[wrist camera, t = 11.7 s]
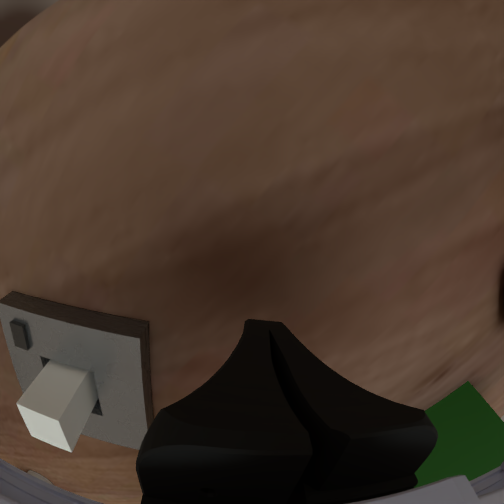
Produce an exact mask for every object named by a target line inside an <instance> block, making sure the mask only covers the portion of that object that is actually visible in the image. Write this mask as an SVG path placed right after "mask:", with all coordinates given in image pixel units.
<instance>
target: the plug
mask: <svg viewBox="0 0 504 504" xmlns="http://www.w3.org/2000/svg"><path fill="white" fill-rule="evenodd" d="M98 398H99V397H98V392H97V388H96V383H95V378H94V372H92V371H88V370H85V369H81V368H78V367H74V366H71V365H67V364H64V363H61V362H57V361H54V360H51V359H50V361H49V362H48V363H47V364H46V365H45V367H44V368H43V369H42V370H41V372H40V373H39V374H38V376H37V377H36V378H35V379H34V381H33V382H32V383H31V385H30V386H29V387H28V388H27V390H26V391H25V392H24V394H23V395H22V396H21V398H20V399H19V400H18V402H17V403H16V404H17V406H18V408H19V410H20V413H21V415H22V417H23V419H24V421H25V423H26V425H27V428H28V430H29V432H30V434H31V435H32V436H33V437H35V438H37V439H39V440H42V441H44V442H46V443H49V444H51V445H54V446H56V447H59V448H61V449H64V450H67V451H69V452H72V451H73V449H74V447H75V445H76V443H77V440H78V438H79V436H80V434H81V432H82V430H83V428H84V426H85V424H86V422H87V420H88V418H89V416H90V414H91V412H92V410H93V408H94V406H95V404H96V402H97V400H98Z"/></svg>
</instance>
